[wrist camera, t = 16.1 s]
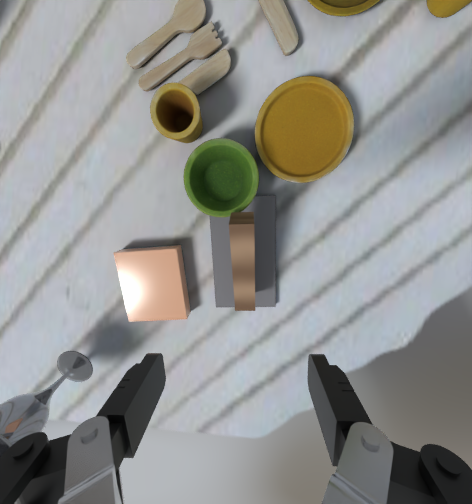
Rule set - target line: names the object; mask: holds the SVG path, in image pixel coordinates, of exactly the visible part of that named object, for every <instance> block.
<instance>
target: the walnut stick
mask: <svg viewBox="0 0 472 504" xmlns="http://www.w3.org/2000/svg"><path fill="white" fill-rule="evenodd" d="M229 235H230V248H231V261H232V275H233V288H234V301H235V311H255V239H254V212H232V213H231V215H230V221H229Z"/></svg>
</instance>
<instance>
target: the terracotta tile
mask: <svg viewBox="0 0 472 504" xmlns="http://www.w3.org/2000/svg"><path fill="white" fill-rule="evenodd" d="M114 257H115V262H116V266H117V270H118V275H119V279H120V284H121V288H122V293H123V297H124V302H125V306H126V311H127V315H128V320H129V322H133V321H155V320H178V319H187V318H188V316H189V314H190V312H191V309H190V302H189V295H188V288H187V281H186V274H185V268H184V261H183V254H182V247H181V245H175V246H160V247H145V248H131V249H122V250H119V251H117V252H115V253H114Z"/></svg>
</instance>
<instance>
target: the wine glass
mask: <svg viewBox="0 0 472 504" xmlns="http://www.w3.org/2000/svg"><path fill="white" fill-rule="evenodd" d="M57 366H58V369H59V371H60V373H61V374H62V375H63V376H62V377H61V378H60V379H59V380H57V381H56V382H55V383H54V384H52V385H51V386H50V387H48V388H47V389H45V390H42V391H40V392H35V393H29V394H23V395H19V396H16V397H13V398H11V399H9V400H7V401H5V402H4V403H2V404H0V457H1V456H2V455H3V454H4V453H5V451H6V450H7V449H8V448H10V447H11V446H12V445H13V444H14V443H16V442H17V441H18V440H20V439H22V438H23V437H25V436H27V435H29V434H32V433H36V432H42V431H43V429H44V427H45V425H46V423H47V421H48V417H49V408H50V400H51V397H52V395H53V393H54V392H55V390H56V389H57V388H58V387H59V385H60V384H61V383H62V382H63V381H64V380H65V379H66V378H67V379H69V380H71V381H75V382H83V381H85V380H87V379H89V378H90V377H91V375H92V365H91V363H90V361H89V360H88V359H87V358H86V357H85V356H84V355H82V354H80V353H78V352H74V351H67V352H64V353H62V354H61V355H60V356H59V358H58V360H57Z"/></svg>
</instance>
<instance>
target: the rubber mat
mask: <svg viewBox="0 0 472 504" xmlns="http://www.w3.org/2000/svg"><path fill="white" fill-rule="evenodd" d="M242 212H254V239H255V307H276V195H273V196H255V197H254V199H253V200H252V202H251V203H250V204H249V206H248V207H247V208H245V209H244V210H243V211H242ZM229 221H230V217H213V216H210V228H211V242H212V256H213V270H214V285H215V299H216V307H235V301H234V288H233V275H232V261H231V248H230V235H229Z"/></svg>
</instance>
